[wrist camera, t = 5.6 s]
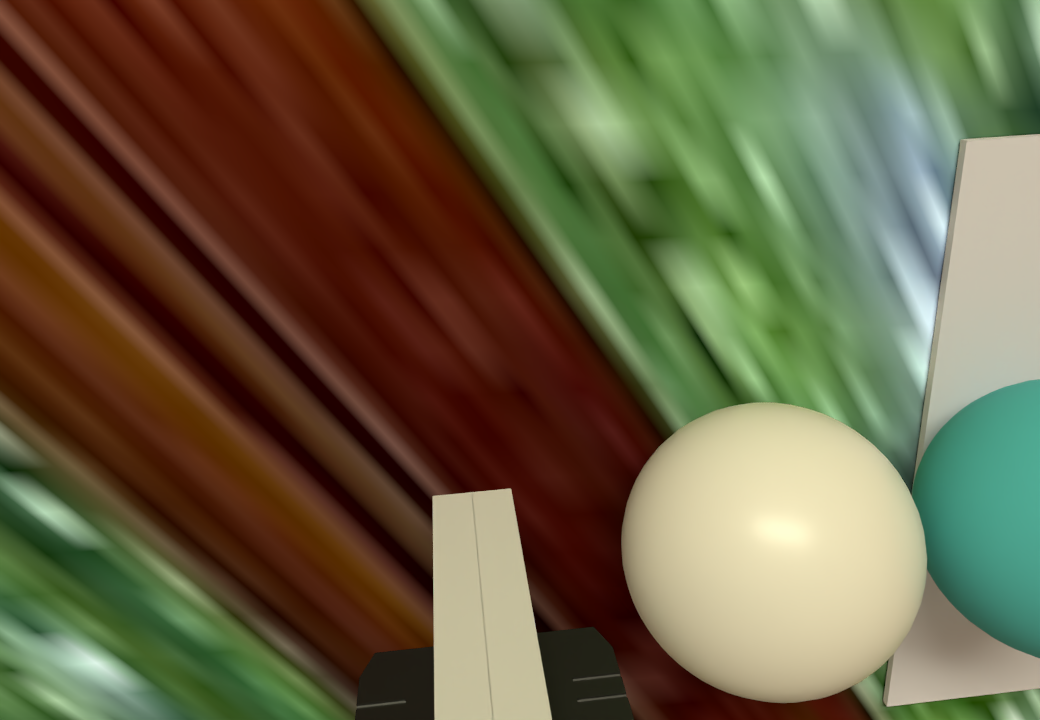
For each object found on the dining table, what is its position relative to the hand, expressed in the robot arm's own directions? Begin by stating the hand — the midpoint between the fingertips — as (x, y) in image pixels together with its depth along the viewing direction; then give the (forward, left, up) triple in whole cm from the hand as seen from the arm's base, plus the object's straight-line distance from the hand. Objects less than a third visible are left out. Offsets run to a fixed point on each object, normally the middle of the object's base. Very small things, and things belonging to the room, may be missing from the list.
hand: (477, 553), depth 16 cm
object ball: (-11, 0, +1) cm, 12 cm away
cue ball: (-5, 0, +1) cm, 6 cm away
